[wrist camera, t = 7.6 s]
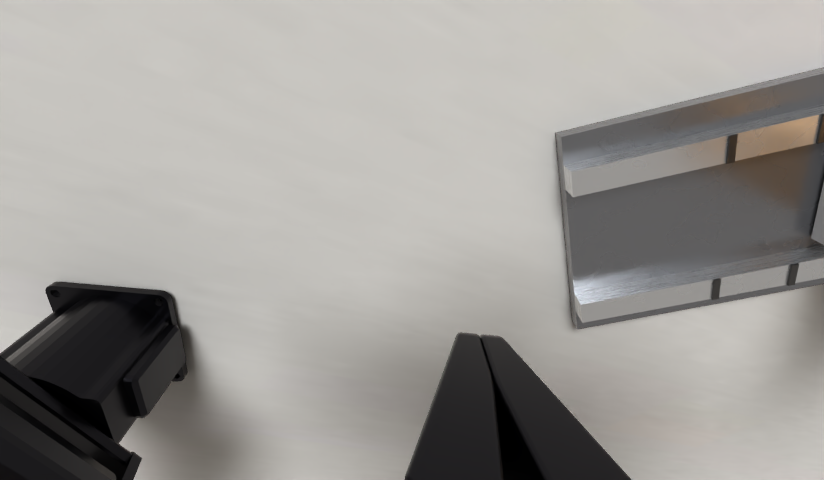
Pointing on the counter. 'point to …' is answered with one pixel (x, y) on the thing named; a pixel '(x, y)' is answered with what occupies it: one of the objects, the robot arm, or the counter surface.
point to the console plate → (694, 201)
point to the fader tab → (819, 221)
